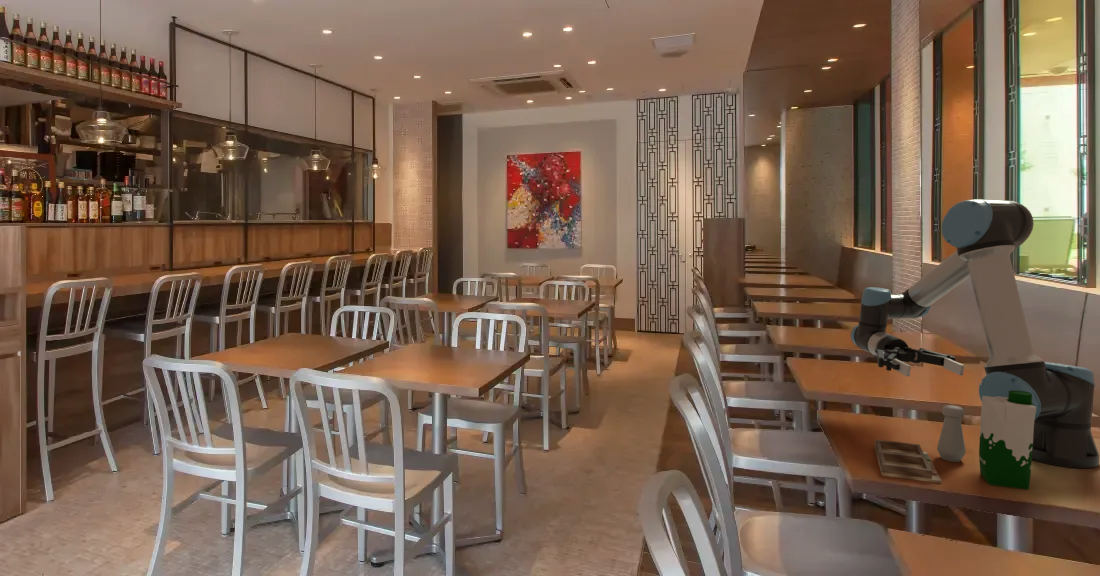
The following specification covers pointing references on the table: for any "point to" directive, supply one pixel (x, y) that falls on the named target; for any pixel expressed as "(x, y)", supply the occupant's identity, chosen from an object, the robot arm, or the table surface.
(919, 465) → the socket board
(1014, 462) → the milk carton
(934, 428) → the table surface
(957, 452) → the salt shaker
